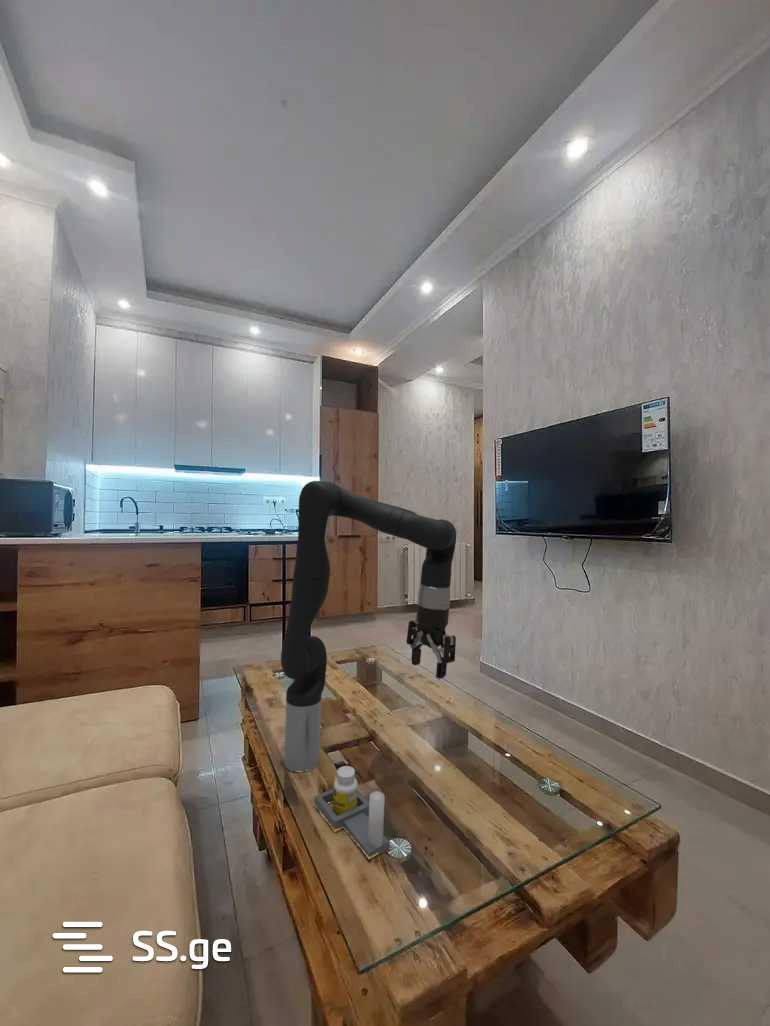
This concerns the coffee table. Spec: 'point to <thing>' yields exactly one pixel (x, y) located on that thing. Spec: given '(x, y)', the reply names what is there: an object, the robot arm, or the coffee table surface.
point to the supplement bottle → (345, 790)
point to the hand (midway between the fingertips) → (427, 670)
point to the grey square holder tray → (359, 820)
